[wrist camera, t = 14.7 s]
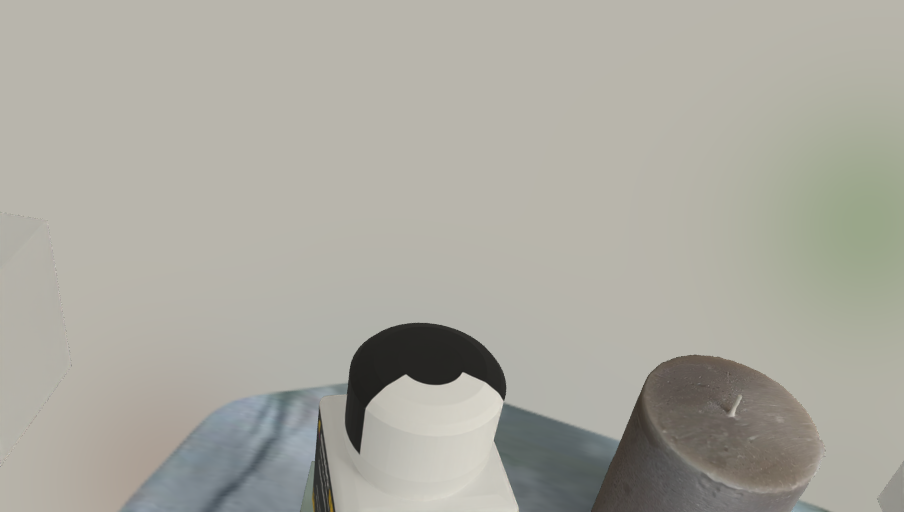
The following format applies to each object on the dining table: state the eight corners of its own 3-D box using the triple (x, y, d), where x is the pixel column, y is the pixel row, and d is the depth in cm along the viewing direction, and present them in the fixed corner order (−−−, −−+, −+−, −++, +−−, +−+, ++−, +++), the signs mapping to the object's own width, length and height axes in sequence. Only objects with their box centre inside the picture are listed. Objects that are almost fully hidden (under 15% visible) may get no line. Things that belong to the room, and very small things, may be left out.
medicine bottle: (310, 497, 38) (325, 305, 31) (451, 482, 40) (493, 299, 33) (328, 638, 33) (350, 442, 26) (490, 613, 35) (550, 425, 28)
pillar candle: (585, 485, 54) (648, 319, 45) (727, 523, 53) (818, 361, 44) (573, 614, 46) (646, 443, 37) (740, 661, 45) (854, 497, 37)
